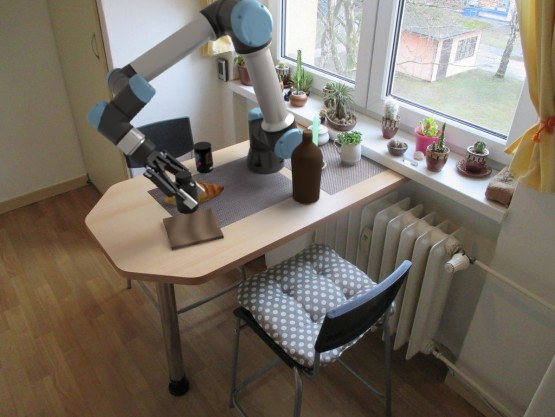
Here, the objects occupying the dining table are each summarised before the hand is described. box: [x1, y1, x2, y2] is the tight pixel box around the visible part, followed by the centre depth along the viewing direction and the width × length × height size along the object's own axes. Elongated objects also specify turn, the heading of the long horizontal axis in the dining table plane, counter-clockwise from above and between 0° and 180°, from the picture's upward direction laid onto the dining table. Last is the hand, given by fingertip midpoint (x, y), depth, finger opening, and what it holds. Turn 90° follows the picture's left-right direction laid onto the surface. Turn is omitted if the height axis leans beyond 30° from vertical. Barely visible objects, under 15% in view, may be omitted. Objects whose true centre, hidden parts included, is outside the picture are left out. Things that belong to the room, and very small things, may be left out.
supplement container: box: [192, 141, 215, 174], centre depth 174 cm, size 7×7×10 cm
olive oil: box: [290, 128, 324, 205], centre depth 153 cm, size 11×11×25 cm
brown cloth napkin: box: [162, 208, 225, 251], centre depth 144 cm, size 16×16×1 cm
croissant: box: [163, 180, 225, 206], centre depth 159 cm, size 21×10×8 cm, turn 111°
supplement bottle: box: [173, 170, 200, 215], centre depth 137 cm, size 7×7×12 cm
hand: (198, 199), depth 137 cm, fingers closed on supplement bottle, 7 cm apart
